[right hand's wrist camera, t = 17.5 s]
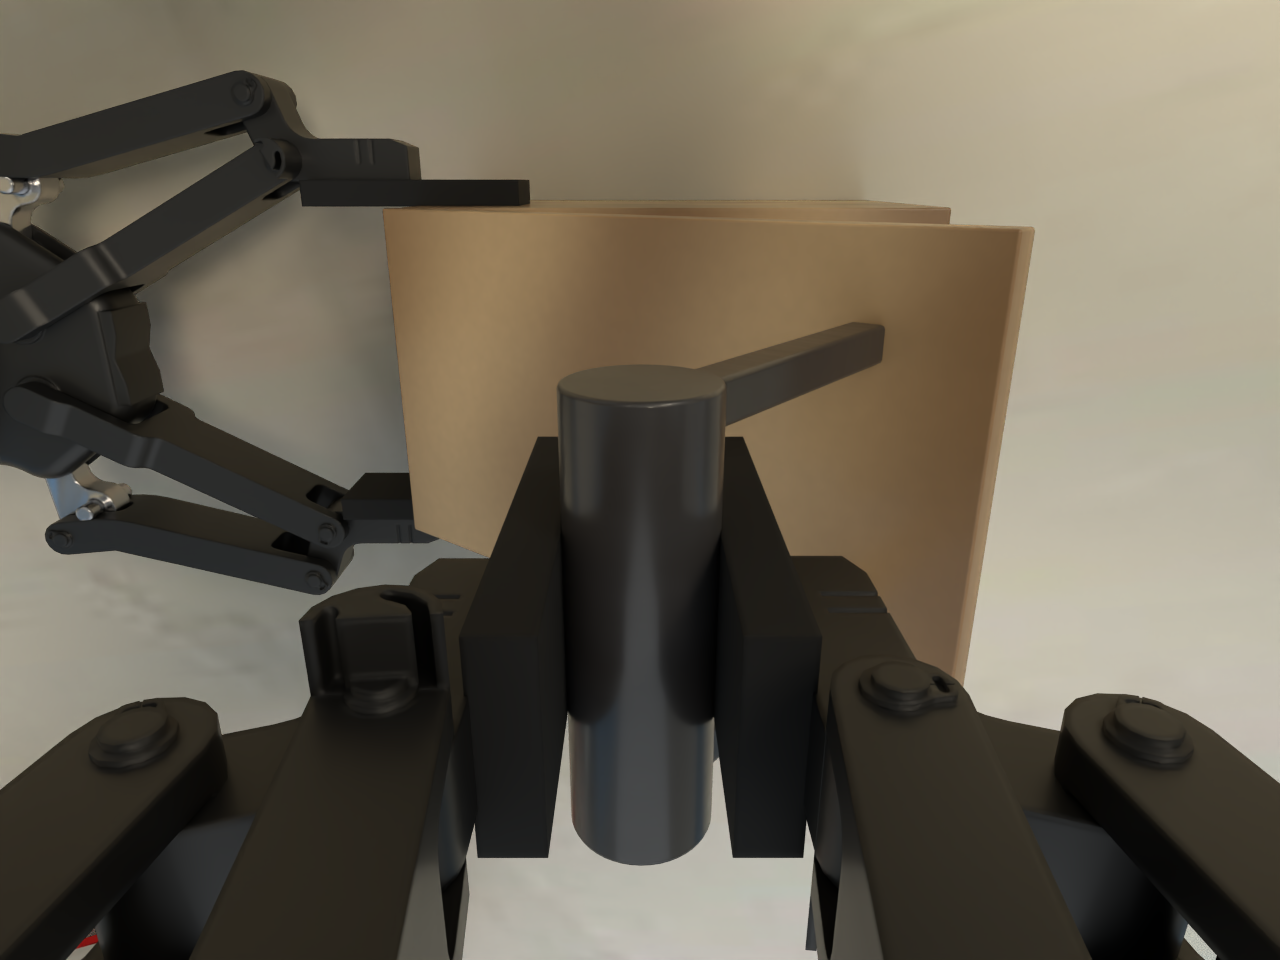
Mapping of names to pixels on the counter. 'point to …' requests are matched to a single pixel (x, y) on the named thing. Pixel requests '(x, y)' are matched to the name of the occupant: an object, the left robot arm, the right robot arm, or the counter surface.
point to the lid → (704, 441)
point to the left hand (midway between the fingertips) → (531, 353)
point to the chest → (740, 209)
